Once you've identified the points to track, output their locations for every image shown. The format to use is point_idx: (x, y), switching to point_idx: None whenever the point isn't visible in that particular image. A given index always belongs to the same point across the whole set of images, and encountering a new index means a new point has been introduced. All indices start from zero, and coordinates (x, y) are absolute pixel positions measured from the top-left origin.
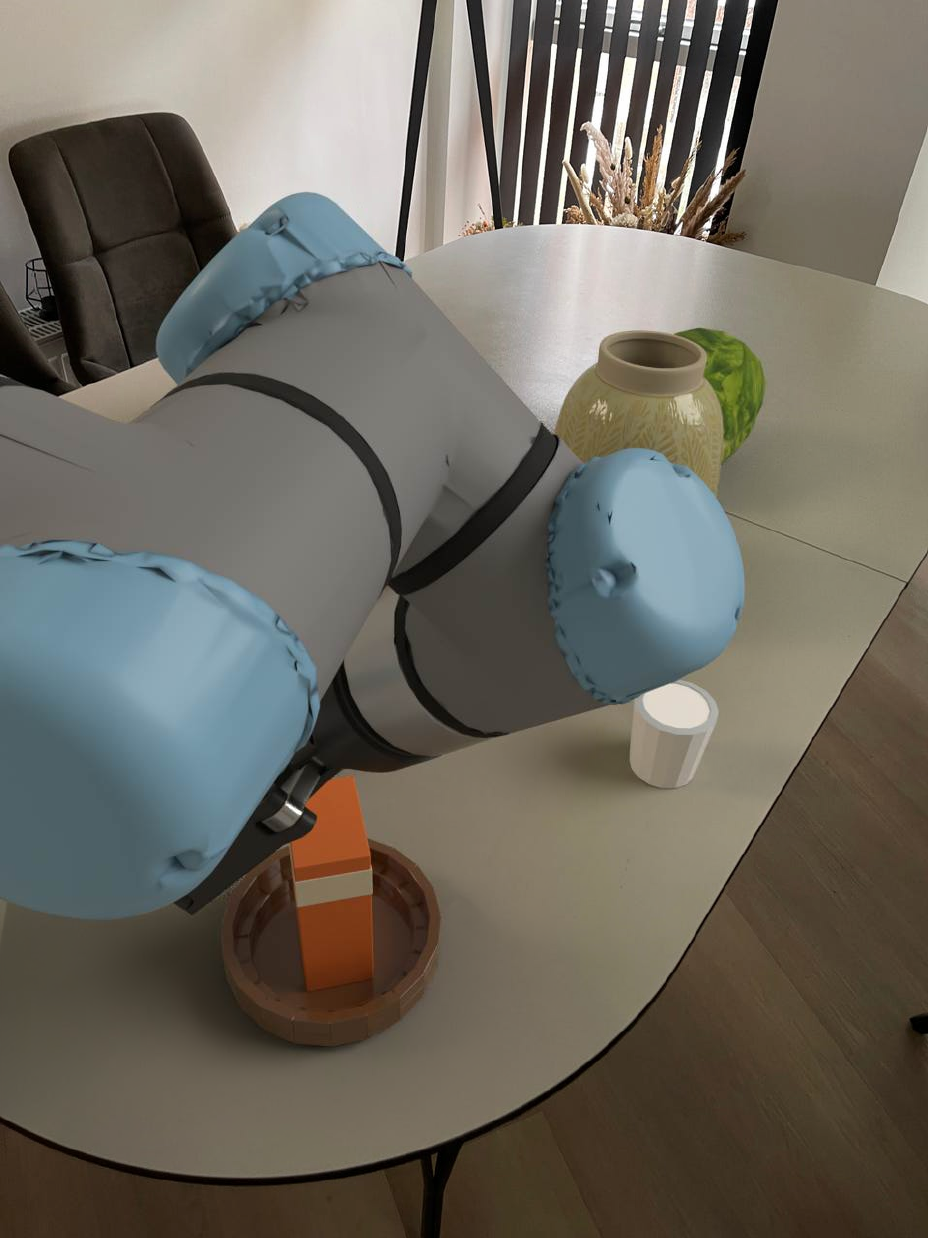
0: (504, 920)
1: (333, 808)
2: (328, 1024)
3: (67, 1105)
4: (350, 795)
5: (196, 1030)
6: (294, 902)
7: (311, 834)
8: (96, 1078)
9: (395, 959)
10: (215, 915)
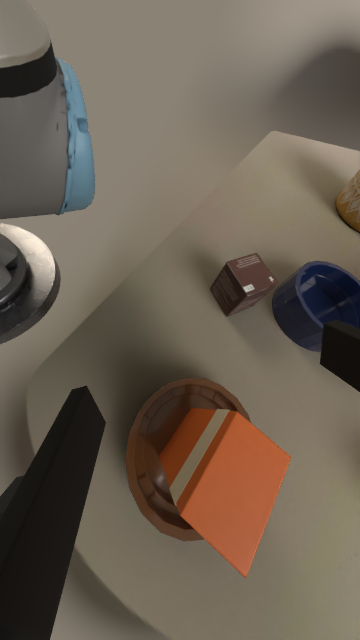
0: (269, 516)
1: (254, 478)
2: (141, 512)
3: (43, 397)
4: (276, 478)
5: (110, 417)
6: (194, 402)
7: (220, 488)
8: (62, 397)
9: None
10: (164, 371)
